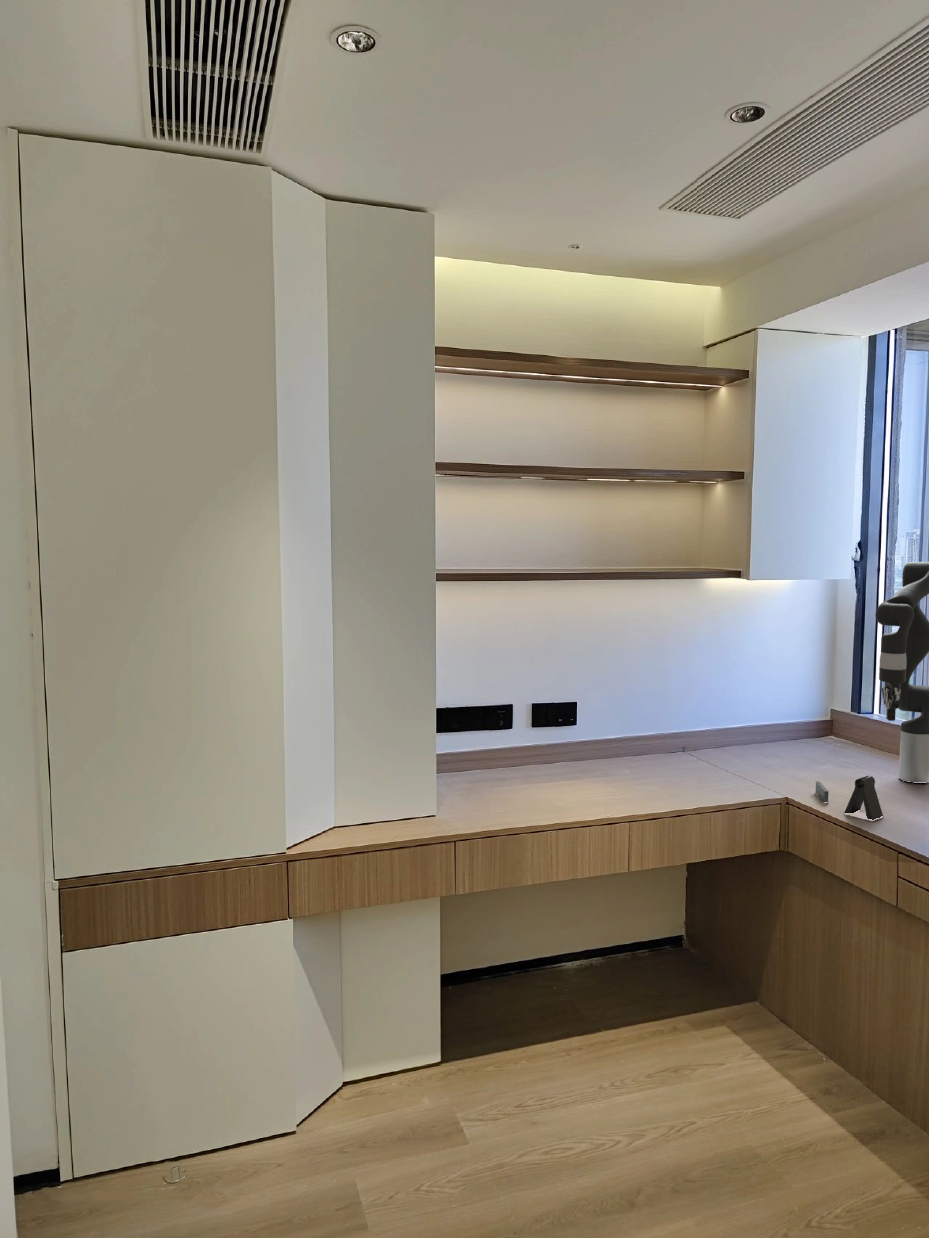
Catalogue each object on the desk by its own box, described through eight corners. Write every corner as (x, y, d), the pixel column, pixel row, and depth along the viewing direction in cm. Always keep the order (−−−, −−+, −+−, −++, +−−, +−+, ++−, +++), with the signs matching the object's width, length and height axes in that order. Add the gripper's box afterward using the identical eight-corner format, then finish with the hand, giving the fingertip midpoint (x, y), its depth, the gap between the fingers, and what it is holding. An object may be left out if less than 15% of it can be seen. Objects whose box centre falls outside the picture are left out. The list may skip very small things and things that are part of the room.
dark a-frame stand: (883, 818, 245) (885, 779, 244) (872, 822, 242) (874, 782, 241) (854, 810, 252) (856, 772, 251) (843, 814, 249) (845, 775, 248)
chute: (815, 793, 270) (815, 781, 270) (865, 795, 267) (866, 783, 267) (824, 803, 259) (824, 791, 259) (876, 805, 257) (876, 793, 256)
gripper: (912, 670, 252) (910, 725, 254) (898, 663, 265) (896, 715, 267) (886, 670, 254) (884, 725, 256) (873, 662, 266) (871, 715, 269)
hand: (890, 720), depth 261 cm, fingers closed
